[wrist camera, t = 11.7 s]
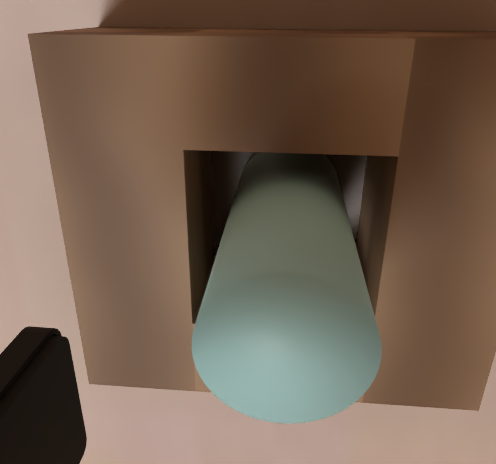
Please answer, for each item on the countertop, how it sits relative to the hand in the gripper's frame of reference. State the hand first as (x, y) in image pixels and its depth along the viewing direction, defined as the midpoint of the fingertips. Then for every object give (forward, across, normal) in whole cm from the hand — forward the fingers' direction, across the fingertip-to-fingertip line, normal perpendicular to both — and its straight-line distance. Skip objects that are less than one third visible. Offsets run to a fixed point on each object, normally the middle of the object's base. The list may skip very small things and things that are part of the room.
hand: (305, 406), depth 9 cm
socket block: (+11, +1, 0) cm, 11 cm away
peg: (+11, +1, 0) cm, 11 cm away
